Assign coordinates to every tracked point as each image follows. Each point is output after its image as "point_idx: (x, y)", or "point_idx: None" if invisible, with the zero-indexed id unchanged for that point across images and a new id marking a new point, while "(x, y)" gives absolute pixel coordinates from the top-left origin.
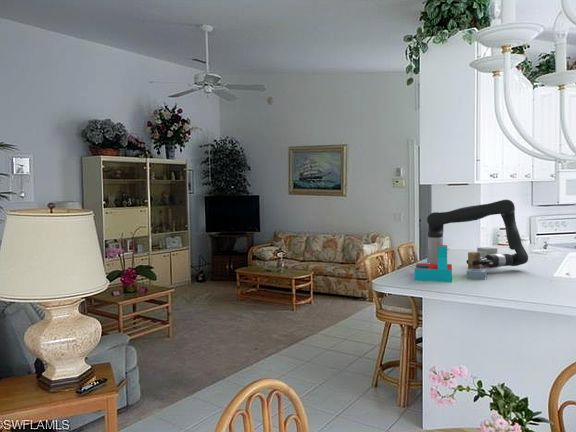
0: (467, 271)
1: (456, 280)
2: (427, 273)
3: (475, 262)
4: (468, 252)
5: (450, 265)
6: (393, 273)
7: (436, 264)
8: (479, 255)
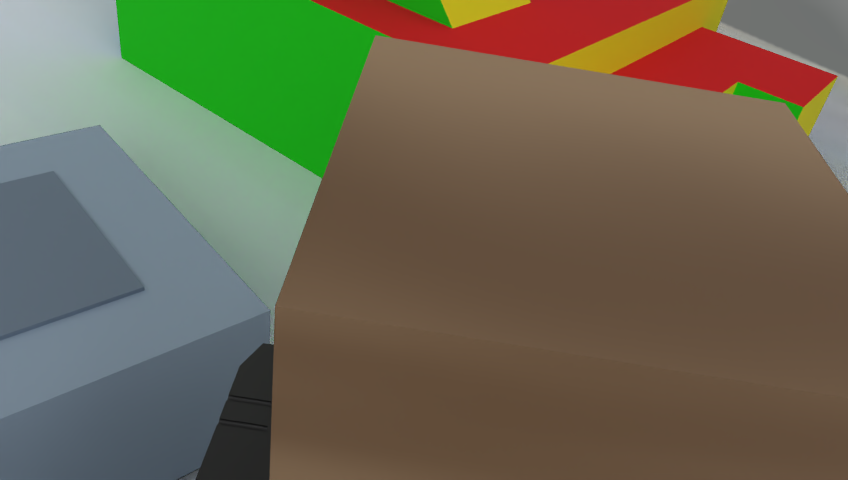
0: (85, 131)
1: (140, 113)
2: None
3: (243, 376)
4: (746, 97)
5: (396, 29)
6: (763, 46)
7: (569, 7)
8: (278, 421)
